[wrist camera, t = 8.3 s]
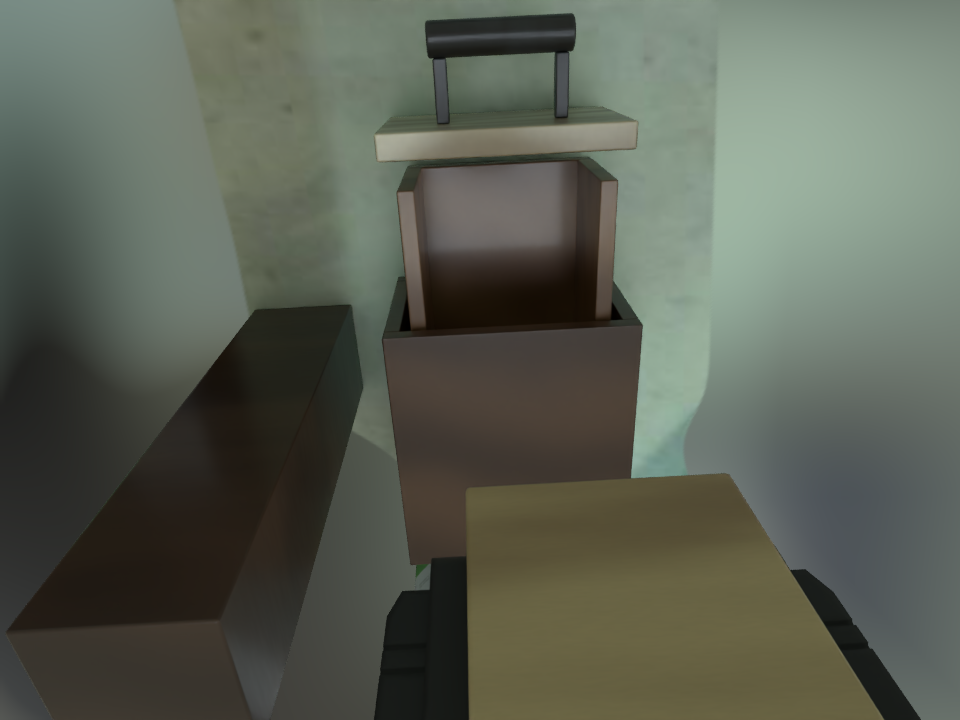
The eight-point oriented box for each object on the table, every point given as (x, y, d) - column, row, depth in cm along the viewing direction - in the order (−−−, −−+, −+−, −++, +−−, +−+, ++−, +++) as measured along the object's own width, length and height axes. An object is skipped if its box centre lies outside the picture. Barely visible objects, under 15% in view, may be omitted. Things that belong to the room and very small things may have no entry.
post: (254, 309, 39) (2, 633, 17) (351, 304, 39) (218, 621, 17) (273, 393, 42) (74, 763, 20) (363, 388, 42) (262, 752, 20)
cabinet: (398, 276, 38) (381, 338, 30) (603, 266, 38) (643, 324, 30) (419, 471, 45) (410, 565, 37) (594, 461, 45) (625, 553, 37)
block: (464, 485, 10) (469, 754, 6) (729, 470, 10) (893, 729, 6) (477, 664, 12) (485, 952, 8) (699, 651, 12) (811, 932, 8)
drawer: (380, 26, 31) (360, 20, 25) (607, 15, 31) (646, 6, 25) (413, 346, 39) (404, 405, 33) (594, 336, 39) (621, 393, 33)
